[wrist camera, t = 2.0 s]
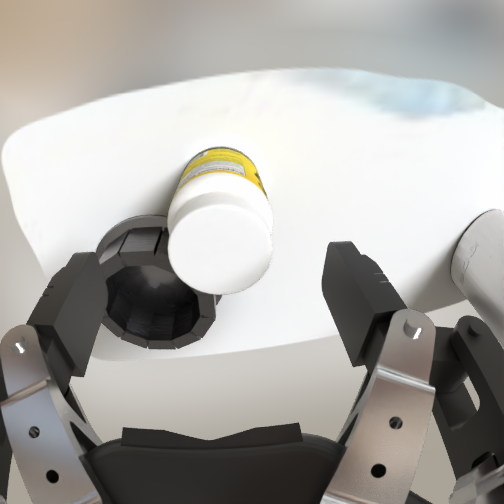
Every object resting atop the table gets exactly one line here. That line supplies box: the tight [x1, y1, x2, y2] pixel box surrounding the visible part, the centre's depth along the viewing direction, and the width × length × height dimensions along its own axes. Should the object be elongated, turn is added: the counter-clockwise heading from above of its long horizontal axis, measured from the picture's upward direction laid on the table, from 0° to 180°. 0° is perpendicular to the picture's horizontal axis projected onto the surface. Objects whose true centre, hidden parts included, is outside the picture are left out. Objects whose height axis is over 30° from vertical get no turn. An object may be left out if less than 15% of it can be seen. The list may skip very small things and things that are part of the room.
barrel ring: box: [96, 215, 222, 349], centre depth 20 cm, size 10×10×3 cm
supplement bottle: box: [167, 146, 273, 295], centre depth 15 cm, size 5×5×8 cm
